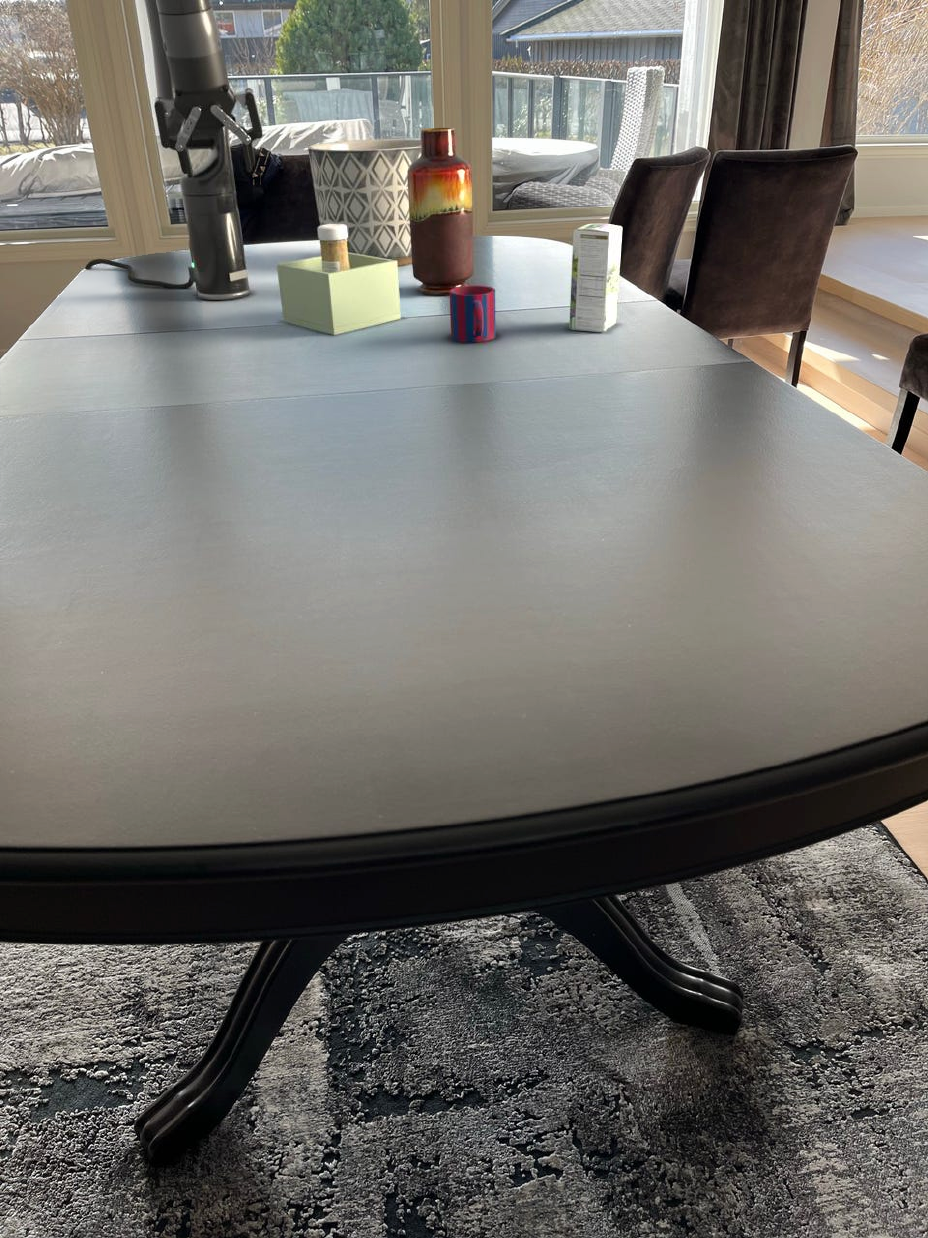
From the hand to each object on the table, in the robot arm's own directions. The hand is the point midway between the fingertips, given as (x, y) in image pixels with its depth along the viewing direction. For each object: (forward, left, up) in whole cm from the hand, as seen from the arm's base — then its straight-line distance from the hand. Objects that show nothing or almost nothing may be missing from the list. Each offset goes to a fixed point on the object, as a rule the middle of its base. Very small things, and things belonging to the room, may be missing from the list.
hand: (220, 172), depth 138 cm
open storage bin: (+8, +14, -23) cm, 28 cm away
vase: (+4, +40, -23) cm, 46 cm away
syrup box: (+42, +36, -23) cm, 60 cm away
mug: (+33, +19, -23) cm, 44 cm away
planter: (-28, +52, -23) cm, 63 cm away
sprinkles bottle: (+7, +14, -22) cm, 27 cm away
